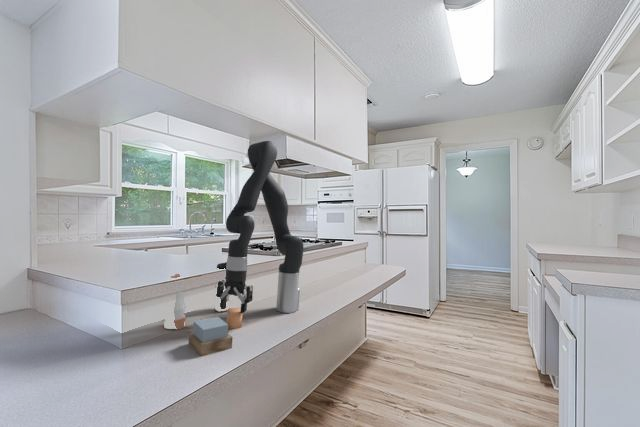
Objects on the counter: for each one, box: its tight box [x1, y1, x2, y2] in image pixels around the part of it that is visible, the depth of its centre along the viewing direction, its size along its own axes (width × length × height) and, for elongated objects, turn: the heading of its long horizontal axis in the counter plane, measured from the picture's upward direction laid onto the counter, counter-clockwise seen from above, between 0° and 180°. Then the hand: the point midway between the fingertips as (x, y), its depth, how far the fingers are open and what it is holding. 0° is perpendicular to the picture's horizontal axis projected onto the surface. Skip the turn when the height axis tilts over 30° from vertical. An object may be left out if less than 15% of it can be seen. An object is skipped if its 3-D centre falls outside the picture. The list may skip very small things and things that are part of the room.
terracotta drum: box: [226, 307, 243, 330], centre depth 119 cm, size 6×6×6 cm
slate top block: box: [192, 316, 229, 343], centre depth 101 cm, size 8×8×4 cm
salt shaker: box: [170, 273, 186, 331], centre depth 115 cm, size 7×7×19 cm
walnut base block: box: [188, 332, 234, 357], centre depth 102 cm, size 10×10×4 cm
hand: (233, 310), depth 119 cm, fingers open, 8 cm apart
